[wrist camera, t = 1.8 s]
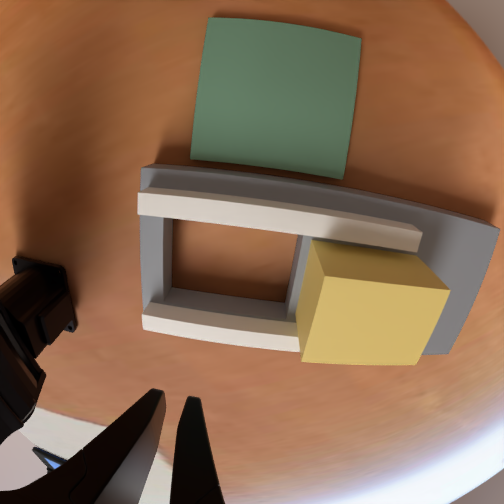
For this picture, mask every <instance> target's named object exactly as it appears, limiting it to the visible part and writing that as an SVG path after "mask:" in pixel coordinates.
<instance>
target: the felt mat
mask: <svg viewBox="0 0 504 504" xmlns="http://www.w3.org/2000/svg"><path fill="white" fill-rule="evenodd" d="M360 51H361V38H357V37H353V36H350V35H346V34H341V33H337V32H333V31H328V30H323V29H318V28H313V27H307V26H302V25H295V24H289V23H281V22H273V21H264V20H253V19H239V18H208V24H207V30H206V35H205V41H204V48H203V54H202V61H201V67H200V75H199V82H198V89H197V97H196V105H195V114H194V123H193V133H192V143H191V153H190V159H194V160H205V161H216V162H226V163H235V164H244V165H252V166H260V167H267V168H275V169H282V170H289V171H295V172H302V173H308V174H314V175H320V176H325V177H331V178H337V179H342V180H343V176H344V171H345V165H346V159H347V153H348V147H349V141H350V134H351V127H352V120H353V113H354V106H355V98H356V89H357V81H358V72H359V62H360Z"/></svg>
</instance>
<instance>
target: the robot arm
mask: <svg viewBox="0 0 504 504" xmlns="http://www.w3.org/2000/svg"><path fill="white" fill-rule="evenodd" d="M12 263H13V268H14V273H15V275H14V276H12V277H11V278H10V279H8V280H7V281H6V282H4V283H3V284H2V285H0V445H1V444H2V442H3V441H4V440H5V439H6V438H7V437H8V436H9V435H10V434H12V433H13V432H15V431H16V430H18V429H20V428H22V427H23V426H24V423H25V422H26V421H27V420H28V419H29V418H30V417H31V415H32V414H33V412H34V409H35V406H36V403H37V400H38V397H39V394H40V392H41V389H42V386H43V383H44V380H45V378H46V373H45V372H44V370H43V369H41V368H40V366H39V365H38V363H37V362H36V360H35V359H36V358H37V357H38V355H39V354H40V353H41V352H42V351H43V349H44V348H45V347H46V346H47V345H51V344H52V343H53V342H54V341H55V339H56V338H57V337H58V336H59V335H60V333H61V332H62V331H63V330H65V331H68V332H72V333H73V332H74V331H75V330H76V329H77V327H76V322H75V318H74V313H73V309H72V304H71V299H70V294H69V288H68V283H67V277H66V271H65V269H64V267H63V266H61V265H57V264H52V263H47V262H42V261H38V260H33V259H29V258H24V257H20V256H15V257H14V258H13V259H12ZM59 271H60V272H61V273H60V272H59ZM34 358H35V359H34ZM165 412H166V400H165V393H164V391H162V390H158V389H154V388H153V389H150V390H149V391H148V392H147V393H146V394H145V395H144V396H143V397H141V398H140V399H139V400H138V401H137V402H136V403H135V404H134V405H132V406H131V407H130V408H129V409H128V410H127V411H126V412H124V413H123V414H122V415H121V416H120V417H119V418H118V419H116V420H115V421H114V422H113V423H112V424H111V425H109V426H108V427H107V428H106V429H105V430H104V431H102V432H101V433H100V434H99V435H98V436H97V437H95V438H94V439H93V440H92V441H91V442H89V443H88V444H87V445H86V446H85V447H84V448H83V450H82V449H81V450H80V451H79V452H77V453H76V454H75V455H74V456H73V457H71V458H70V459H69V460H67V461H66V462H65V463H63V464H62V465H60V466H59V467H57V468H56V469H54V470H53V471H51V472H49V473H48V474H46V475H44V476H43V477H41V478H39V479H38V480H36V481H34V482H32V483H31V484H29V485H27V486H25V487H23V488H20V489H17V490H11V491H0V504H138V503H139V500H140V497H141V494H142V491H143V488H144V486H145V483H146V480H147V477H148V474H149V471H150V469H151V466H152V463H153V460H154V457H155V455H156V452H157V448H158V444H159V440H160V435H161V430H162V426H163V421H164V417H165ZM170 504H225V502H224V499H223V495H222V491H221V488H220V486H219V480H218V476H217V472H216V468H215V464H214V460H213V455H212V451H211V447H210V442H209V438H208V433H207V428H206V423H205V419H204V414H203V409H202V403H201V399H200V398H199V397H193V396H188V397H187V399H186V402H185V405H184V409H183V412H182V415H181V418H180V421H179V424H178V428H177V435H176V444H175V453H174V462H173V472H172V483H171V494H170Z"/></svg>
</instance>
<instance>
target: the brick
mask: <svg viewBox="0 0 504 504" xmlns="http://www.w3.org/2000/svg"><path fill="white" fill-rule="evenodd" d="M450 291H451V290H450V289H449V288H448V287H447V286H446V285H445V284H444V283H443V282H442V281H441V279H440V278H439V277H438V276H437V275H436V274H435V273H434V272H433V271H432V270H431V269H430V268H429V267H428V266H427V265H426V264H425V263H424V262H423V261H422V260H421V259H420V258H419V257H417V256H416V255H410V254H403V253H397V252H391V251H384V250H378V249H371V248H364V247H358V246H351V245H344V244H337V243H330V242H323V241H316V240H311V244H310V249H309V254H308V259H307V263H306V268H305V273H304V277H303V282H302V287H301V291H300V295H299V300H298V304H297V309H296V313H295V315H296V323H297V331H298V339H299V347H300V356H301V362H312V363H328V364H350V365H416V364H417V362H418V360H419V358H420V356H421V354H422V352H423V350H424V348H425V346H426V344H427V342H428V340H429V338H430V336H431V334H432V332H433V330H434V328H435V326H436V324H437V322H438V319H439V317H440V315H441V313H442V310H443V308H444V306H445V303H446V301H447V299H448V296H449V294H450Z"/></svg>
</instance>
